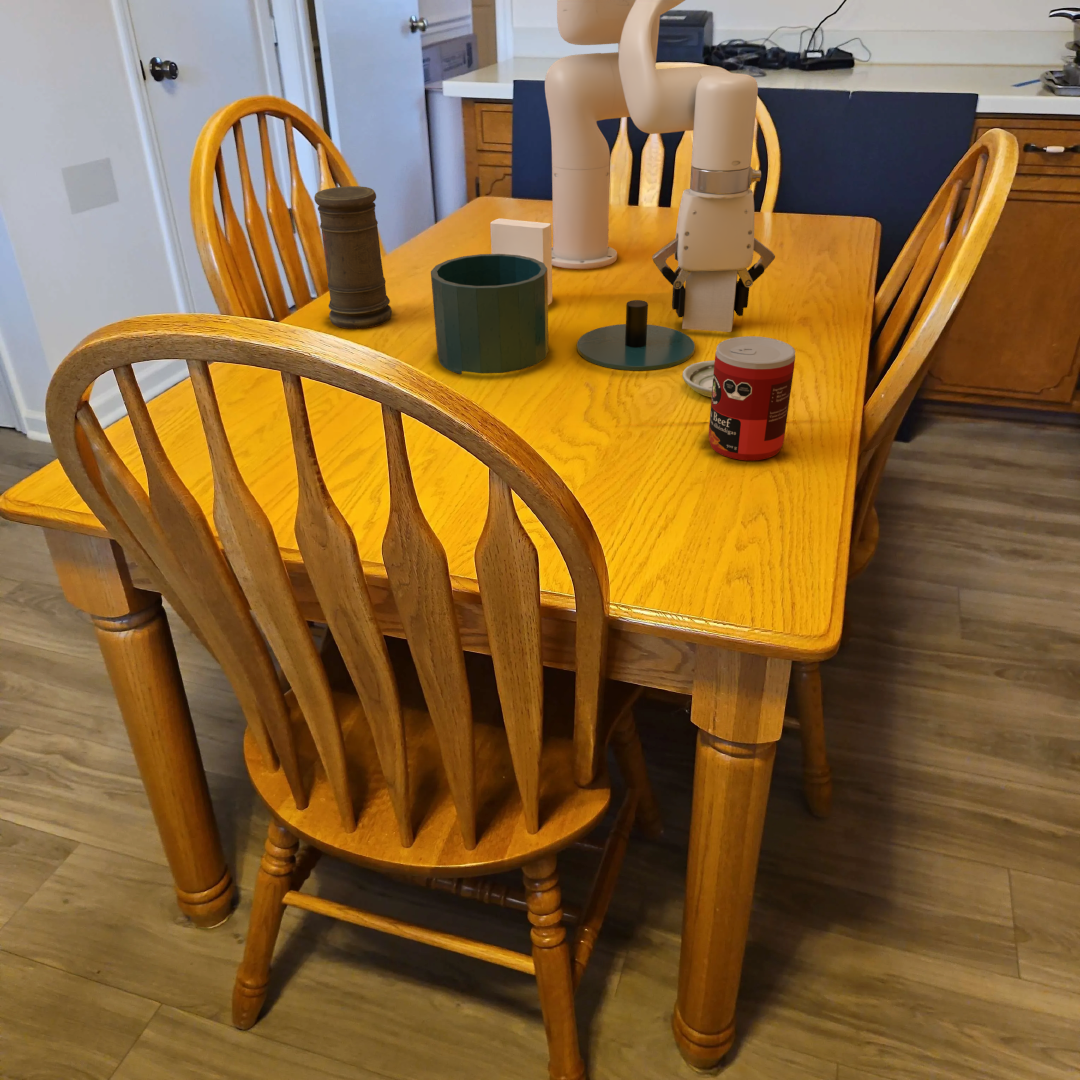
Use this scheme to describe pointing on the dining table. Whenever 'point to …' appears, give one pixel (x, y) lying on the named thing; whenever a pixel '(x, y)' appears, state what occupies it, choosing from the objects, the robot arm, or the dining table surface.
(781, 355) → the canned food
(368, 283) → the container
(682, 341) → the lid
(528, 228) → the base with upright slab
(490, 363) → the pot
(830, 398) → the dining table surface
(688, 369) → the saucer
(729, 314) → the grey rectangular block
